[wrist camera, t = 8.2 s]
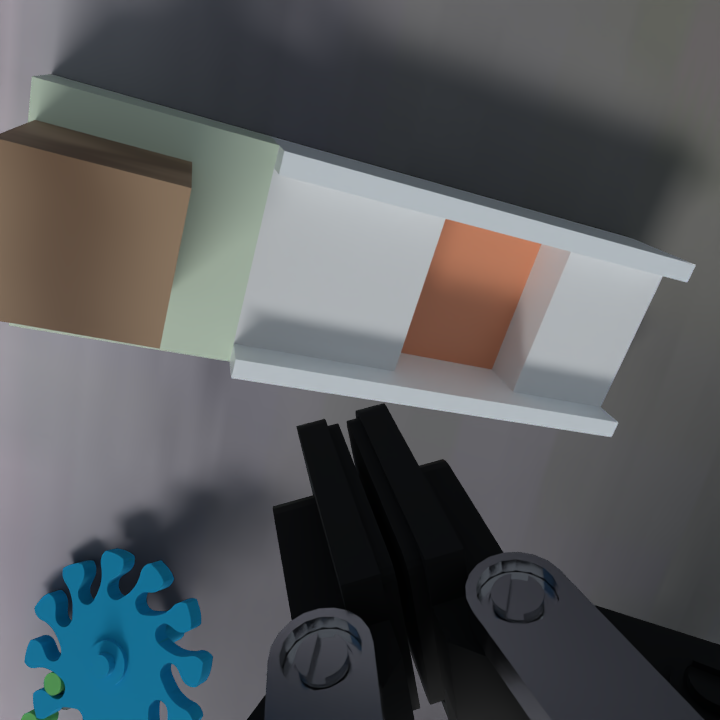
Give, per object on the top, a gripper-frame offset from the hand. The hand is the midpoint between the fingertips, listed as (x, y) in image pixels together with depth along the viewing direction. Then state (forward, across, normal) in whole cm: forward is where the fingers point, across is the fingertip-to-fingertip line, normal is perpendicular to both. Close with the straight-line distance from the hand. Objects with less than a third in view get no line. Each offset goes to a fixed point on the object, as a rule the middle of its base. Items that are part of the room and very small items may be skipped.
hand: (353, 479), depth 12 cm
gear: (+18, +12, +17) cm, 27 cm away
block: (+14, +5, -3) cm, 15 cm away
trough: (+17, -4, +2) cm, 18 cm away
